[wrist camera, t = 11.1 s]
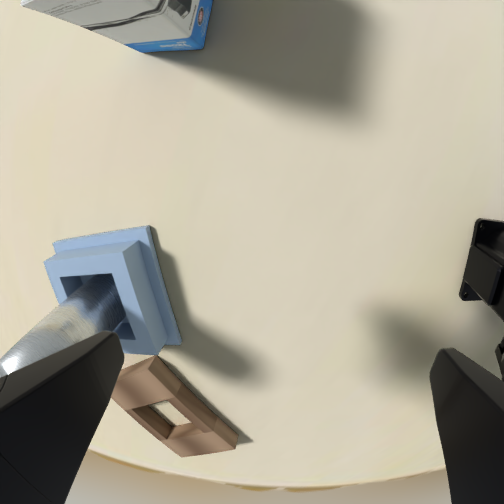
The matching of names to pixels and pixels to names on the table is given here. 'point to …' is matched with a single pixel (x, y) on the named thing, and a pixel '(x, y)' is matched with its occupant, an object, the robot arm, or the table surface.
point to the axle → (69, 323)
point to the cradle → (120, 283)
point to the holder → (172, 389)
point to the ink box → (136, 20)
